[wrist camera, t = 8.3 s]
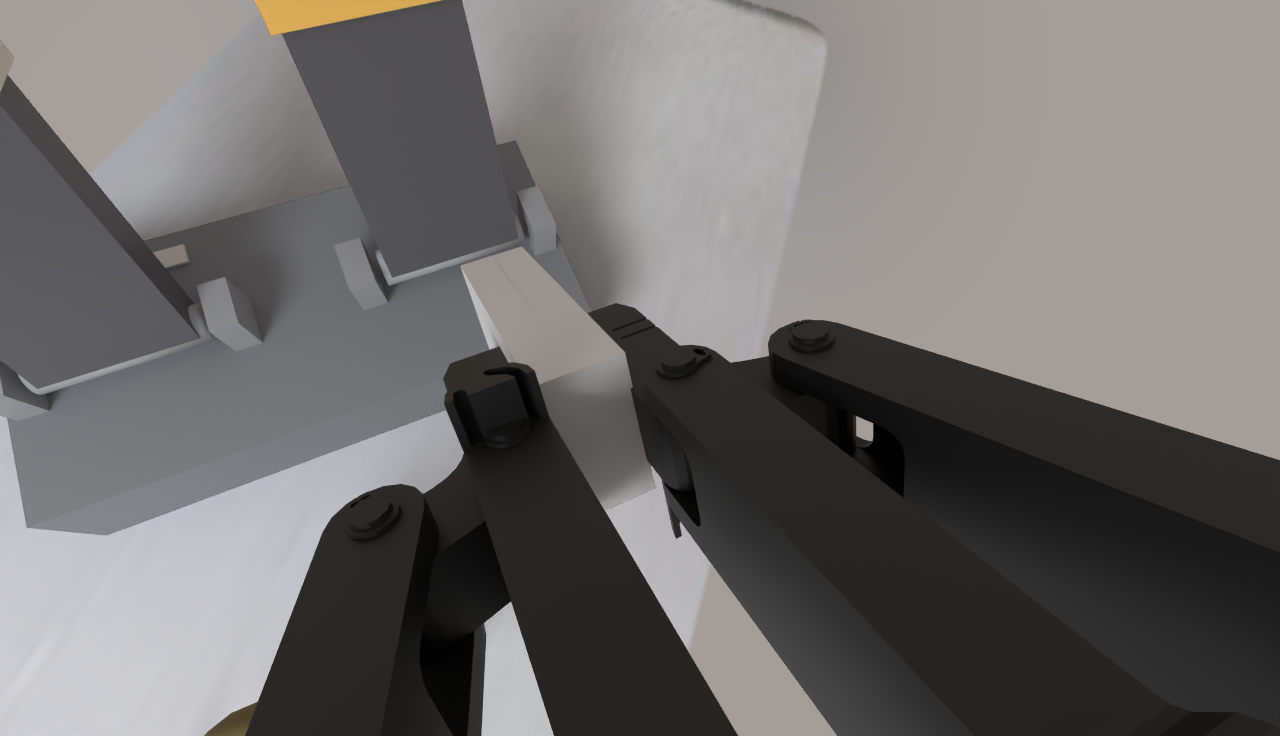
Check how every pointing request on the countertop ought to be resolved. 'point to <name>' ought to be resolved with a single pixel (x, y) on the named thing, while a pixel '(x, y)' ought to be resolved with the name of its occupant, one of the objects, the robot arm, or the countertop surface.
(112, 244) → the cream lever
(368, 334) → the switch block
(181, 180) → the countertop surface
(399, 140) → the amber lever
